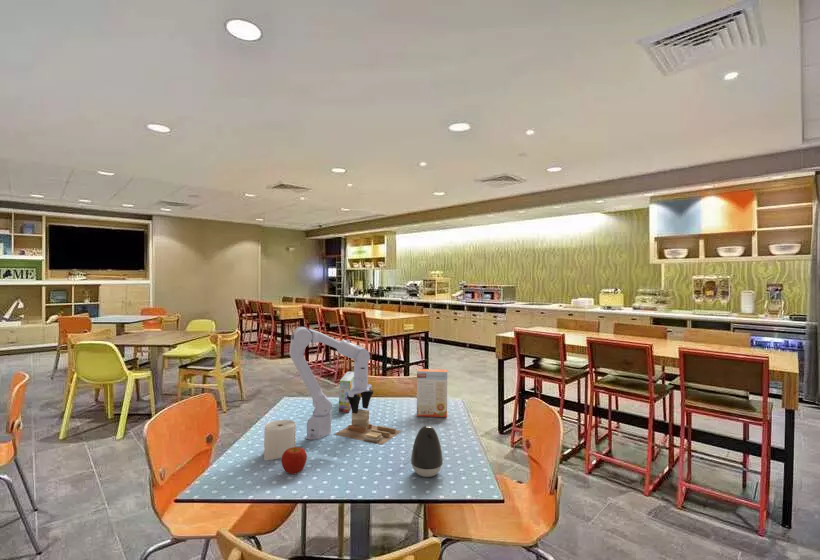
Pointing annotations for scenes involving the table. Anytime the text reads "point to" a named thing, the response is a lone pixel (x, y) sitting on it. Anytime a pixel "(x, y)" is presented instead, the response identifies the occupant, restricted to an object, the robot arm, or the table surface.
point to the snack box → (345, 391)
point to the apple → (294, 460)
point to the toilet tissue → (278, 438)
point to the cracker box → (432, 393)
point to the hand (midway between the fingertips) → (360, 410)
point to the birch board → (361, 419)
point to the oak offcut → (373, 435)
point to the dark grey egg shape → (426, 452)
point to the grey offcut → (374, 439)
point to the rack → (360, 432)
